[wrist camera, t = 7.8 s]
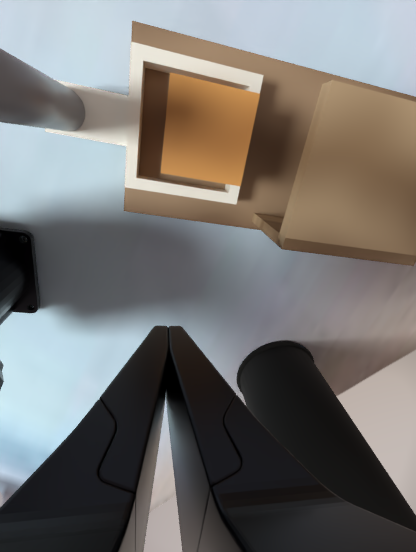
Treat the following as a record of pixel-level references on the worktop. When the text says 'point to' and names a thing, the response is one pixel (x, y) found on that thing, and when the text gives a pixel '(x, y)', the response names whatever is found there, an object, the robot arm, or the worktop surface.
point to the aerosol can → (318, 429)
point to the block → (207, 130)
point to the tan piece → (298, 158)
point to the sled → (112, 109)
